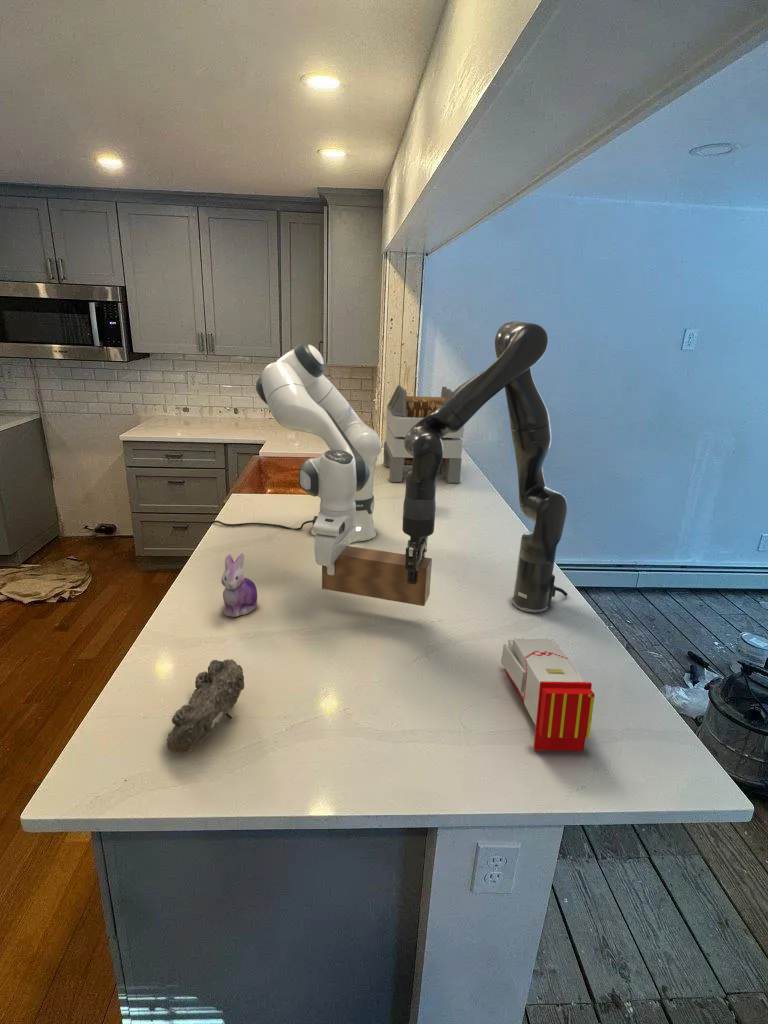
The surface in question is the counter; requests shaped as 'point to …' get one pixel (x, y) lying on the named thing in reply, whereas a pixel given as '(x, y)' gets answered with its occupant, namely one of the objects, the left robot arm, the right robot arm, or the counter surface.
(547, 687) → the toy
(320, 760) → the counter surface
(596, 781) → the counter surface
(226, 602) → the figurine
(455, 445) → the grey boxy stand
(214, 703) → the fossil
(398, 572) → the box
